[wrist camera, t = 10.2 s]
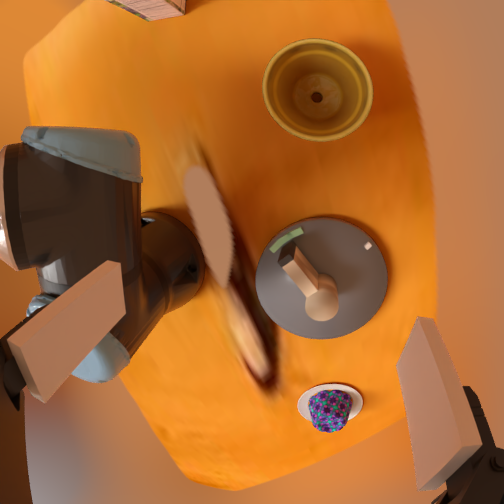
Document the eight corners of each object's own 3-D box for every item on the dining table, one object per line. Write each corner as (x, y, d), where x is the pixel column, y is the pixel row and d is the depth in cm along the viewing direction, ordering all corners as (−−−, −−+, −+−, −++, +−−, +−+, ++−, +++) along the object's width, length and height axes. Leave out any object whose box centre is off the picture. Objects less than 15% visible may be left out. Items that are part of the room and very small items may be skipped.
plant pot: (305, 154, 37) (302, 162, 28) (258, 86, 35) (240, 74, 26) (376, 113, 34) (394, 108, 25) (328, 44, 31) (330, 19, 22)
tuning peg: (342, 290, 41) (344, 310, 36) (318, 305, 42) (317, 326, 38) (299, 234, 39) (297, 249, 35) (274, 252, 41) (269, 268, 36)
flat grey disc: (318, 351, 48) (318, 360, 46) (232, 278, 46) (228, 285, 44) (410, 280, 40) (413, 287, 39) (321, 188, 38) (322, 191, 37)
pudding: (290, 387, 52) (286, 409, 47) (357, 374, 49) (358, 396, 44) (307, 425, 56) (304, 446, 51) (366, 415, 52) (367, 436, 47)
